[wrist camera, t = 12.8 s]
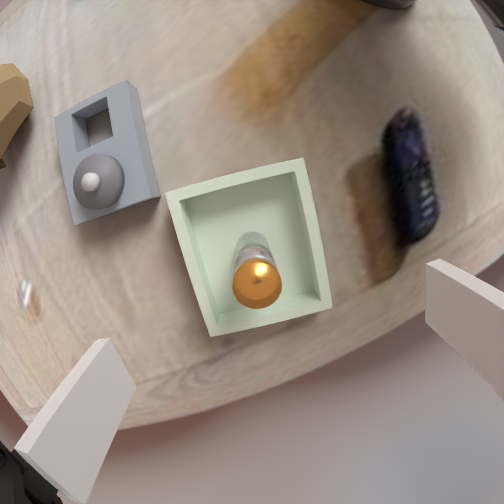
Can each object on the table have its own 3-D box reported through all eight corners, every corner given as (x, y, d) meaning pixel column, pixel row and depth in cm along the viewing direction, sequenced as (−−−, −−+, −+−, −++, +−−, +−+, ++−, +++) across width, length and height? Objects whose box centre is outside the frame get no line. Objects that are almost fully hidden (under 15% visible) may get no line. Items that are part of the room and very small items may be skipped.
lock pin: (233, 236, 26) (226, 269, 16) (264, 228, 26) (276, 257, 16) (241, 265, 27) (239, 313, 17) (271, 258, 27) (286, 302, 17)
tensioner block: (69, 121, 24) (40, 113, 18) (137, 88, 23) (116, 71, 18) (88, 221, 26) (60, 229, 21) (161, 195, 26) (141, 199, 21)
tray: (175, 191, 26) (165, 192, 23) (295, 160, 26) (303, 157, 22) (213, 320, 29) (210, 337, 26) (323, 294, 29) (332, 307, 26)
